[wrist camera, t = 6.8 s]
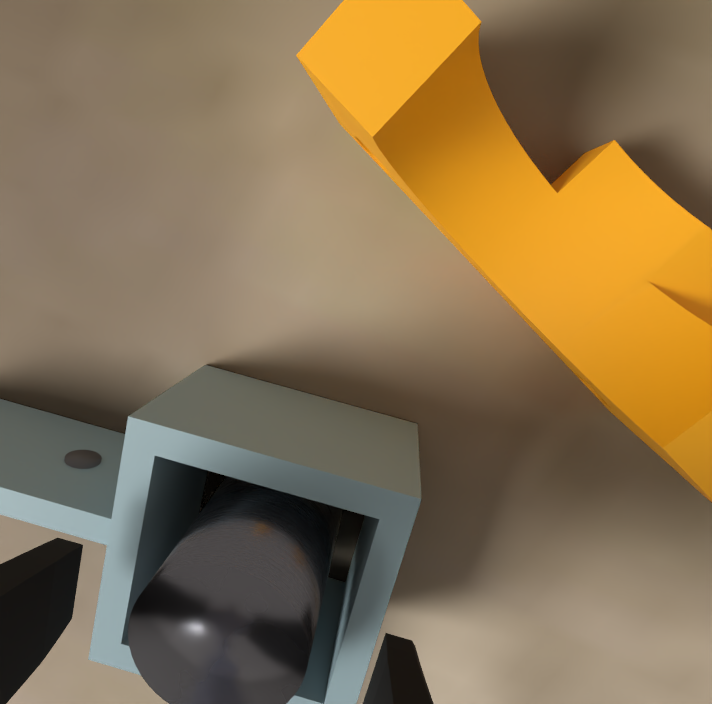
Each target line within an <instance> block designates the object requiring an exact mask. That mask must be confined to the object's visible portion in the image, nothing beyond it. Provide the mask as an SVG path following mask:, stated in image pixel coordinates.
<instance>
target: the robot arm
mask: <svg viewBox="0 0 712 704" xmlns="http://www.w3.org/2000/svg"><path fill="white" fill-rule="evenodd" d="M82 548H83V545H81V544H78V543H74V542H71V541H67V540H64V539H60V538H56V539H54V540H52V541H49V542H47V543H45V544H43V545H41V546H38V547H36V548H34V549H32V550H30V551H28V552H26V553H23V554H21V555H19V556H17V557H15V558H13V559H11V560H9V561H6V562H4V563H2V564H0V704H6V703H7V702H8V701H9V700H10V699H11V697H12V696H13V695H14V694H15V693H16V692H17V690H18V689H19V688H20V687H21V686H22V685H23V683H24V682H25V681H26V680H27V679H28V678H29V676H30V675H31V674H32V673H33V672H34V671H35V669H36V668H37V667H38V666H39V665H40V663H41V662H42V661H43V660H44V658H45V657H46V655H47V654H48V653H49V651H50V650H51V648H52V647H53V646H54V644H55V643H56V641H57V640H58V638H59V637H60V635H61V634H62V632H63V631H64V629H65V628H66V626H67V625H68V624H69V622H70V621H71V619H72V614H73V608H74V601H75V594H76V588H77V581H78V574H79V568H80V561H81V555H82ZM363 704H433V701H432V698H431V695H430V692H429V689H428V686H427V684H426V681H425V678H424V674H423V671H422V668H421V665H420V662H419V658H418V655H417V651H416V648H415V645H414V643H413V642H412V641H411V640H408V639H404V638H401V637H397V636H394V635H391V634H387V633H386V634H385V637H384V640H383V643H382V646H381V650H380V653H379V656H378V659H377V662H376V665H375V668H374V671H373V674H372V677H371V680H370V684H369V687H368V690H367V693H366V696H365V699H364V702H363Z"/></svg>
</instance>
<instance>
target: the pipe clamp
mask: <svg viewBox="0 0 712 704" xmlns="http://www.w3.org/2000/svg"><path fill="white" fill-rule="evenodd" d="M480 25H481V21H480V20H479V18H478V17H477V16H476V15H475V14H474V13H473V12H472V11H471V9H470V8H469V7H468V6H467V5H466V4H465V3H464V2H463V0H344V1H343V2H342V3H341V4H340V5H339V6H338V8H337V9H336V10H335V11H334V12H333V13H332V15H331V16H330V17H329V18H328V19H327V20H326V22H325V23H324V24H323V25H322V26H321V27H320V29H319V30H318V31H317V32H316V33H315V34H314V35H313V37H312V38H311V39H310V40H309V41H308V42H307V44H306V45H305V46H304V47H303V48H302V49H301V51H300V52H299V53H298V54H297V55H296V56H297V57H298V59H299V61H300V62H301V64H302V65H303V67H304V68H305V70H306V72H307V73H308V75H309V76H310V78H311V79H312V81H313V83H314V84H315V86H316V87H317V89H318V90H319V92H320V94H321V95H322V97H323V98H324V100H325V101H326V103H327V104H328V106H329V108H330V109H331V111H332V112H333V114H334V115H335V117H336V119H337V120H338V122H339V123H340V124H341V126H342V127H343V128H344V129H345V130H346V131H347V132H348V133H349V134H350V135H351V136H352V137H353V138H354V139H355V140H356V142H357V143H358V144H359V145H360V146H361V147H362V148H363V149H364V150H365V151H366V152H367V153H368V154H369V155H370V156H371V158H372V159H373V160H374V161H375V162H376V163H377V164H378V165H379V166H380V167H381V168H382V169H383V170H384V171H385V172H386V173H387V175H388V176H389V177H390V178H391V179H392V180H393V181H394V182H395V183H396V184H397V185H398V186H399V187H400V188H401V189H402V191H403V192H404V193H405V194H406V195H407V196H408V197H409V198H410V199H411V200H412V201H413V202H414V203H415V204H416V205H417V207H418V208H419V209H420V210H421V211H422V212H423V213H424V214H425V215H426V216H427V217H428V218H429V219H430V220H431V221H432V222H433V224H434V225H435V226H436V227H437V228H438V229H439V230H440V231H441V232H442V233H443V234H444V235H445V236H446V237H447V238H448V240H449V241H450V242H451V243H452V244H453V245H454V246H455V247H456V248H457V249H458V250H459V251H460V252H461V253H462V254H463V256H464V257H465V258H466V259H467V260H468V261H469V262H470V263H471V264H472V265H473V266H474V267H475V268H476V269H477V270H478V271H479V273H480V274H481V275H482V276H483V277H484V278H485V279H486V280H487V281H488V282H489V283H490V284H491V285H492V286H493V287H494V289H495V290H496V291H497V292H498V293H499V294H500V295H501V296H502V297H503V298H504V299H505V300H506V301H507V302H508V303H509V305H510V306H511V307H512V308H513V309H514V310H515V311H516V312H517V313H518V314H519V315H520V316H521V317H522V318H523V319H524V320H525V322H526V323H527V324H528V325H529V326H530V327H531V328H532V329H533V330H534V331H535V332H536V333H537V334H538V335H539V336H540V338H541V339H542V340H543V341H544V342H545V343H546V344H547V345H548V346H549V347H550V348H551V349H552V350H553V351H554V352H555V354H556V355H557V356H558V357H559V358H560V359H561V360H562V361H563V362H564V363H565V364H566V365H567V366H568V367H569V368H570V369H571V371H572V372H573V373H574V374H575V375H576V376H577V377H578V378H579V379H580V380H581V381H582V382H583V383H584V384H585V385H586V387H587V388H588V389H589V390H590V391H591V392H592V393H593V394H594V395H595V396H596V397H597V398H598V399H599V400H600V401H601V403H602V404H603V405H604V406H605V407H606V408H607V409H608V410H609V411H610V412H611V413H612V414H613V415H614V416H616V417H617V418H618V419H619V420H620V421H621V422H622V423H623V424H624V425H626V426H627V427H628V428H629V429H630V430H631V431H632V432H633V433H635V434H636V435H637V436H638V437H639V438H640V439H641V440H642V441H643V442H645V443H646V444H647V445H648V446H649V447H650V448H651V449H652V450H653V451H655V452H656V453H657V454H658V455H659V456H660V457H661V458H662V459H663V460H665V461H666V462H667V463H668V464H669V465H670V466H671V467H672V468H674V469H675V470H676V471H677V472H678V473H679V474H680V475H681V476H682V477H684V478H685V479H686V480H687V481H688V482H689V483H690V484H691V485H692V486H694V487H695V488H696V489H697V490H698V491H699V492H700V493H701V494H703V495H704V496H705V497H706V498H707V499H708V500H709V501H710V502H711V503H712V230H711V229H710V228H709V227H708V226H706V225H705V224H703V223H702V222H701V221H699V220H698V219H697V218H695V217H694V216H693V215H691V214H690V213H689V212H687V211H686V210H685V209H684V208H682V207H681V206H680V205H679V204H678V203H676V202H675V201H674V200H673V199H672V198H670V197H669V196H668V195H667V194H666V193H665V192H664V191H663V190H661V189H660V188H659V187H658V186H657V185H656V184H655V183H654V182H653V181H652V180H651V179H650V178H649V177H648V176H647V175H646V174H645V173H644V172H643V171H642V170H641V169H640V168H639V167H638V166H637V165H636V164H635V163H634V162H633V161H632V160H631V158H630V157H629V156H628V155H627V154H626V153H625V152H624V150H623V149H622V148H621V147H620V146H619V145H618V143H617V142H616V141H615V140H613V141H611V142H609V143H607V144H604V145H602V146H600V147H597V148H595V149H593V150H590V151H588V152H586V153H584V154H583V155H582V156H581V157H580V158H579V159H578V160H577V161H576V162H575V163H573V164H572V165H571V166H570V167H569V168H568V169H567V170H566V171H565V172H564V173H563V174H562V175H561V176H560V177H559V178H558V179H556V180H555V181H554V182H553V183H552V184H551V185H550V184H549V182H548V181H547V180H546V179H545V178H544V176H543V175H542V174H541V172H540V171H539V170H538V168H537V167H536V166H535V164H534V163H533V162H532V160H531V159H530V158H529V156H528V155H527V153H526V152H525V151H524V149H523V148H522V146H521V145H520V143H519V142H518V140H517V139H516V137H515V136H514V134H513V132H512V131H511V129H510V127H509V126H508V124H507V122H506V121H505V119H504V117H503V115H502V113H501V111H500V109H499V108H498V106H497V103H496V101H495V99H494V97H493V95H492V93H491V90H490V88H489V85H488V83H487V80H486V77H485V74H484V71H483V68H482V63H481V59H480V53H479V44H478V42H479V29H480Z"/></svg>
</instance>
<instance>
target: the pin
mask: <svg viewBox="0 0 712 704" xmlns="http://www.w3.org/2000/svg"><path fill="white" fill-rule="evenodd" d="M342 513H343V509H341V508H338V507H334V506H331V505H327V504H324V503H320V502H317V501H313V500H310V499H306V498H303V497H299V496H296V495H292V494H289V493H285V492H282V491H278V490H275V489H271V488H268V487H264V486H260V485H257V484H253V483H250V482H246V481H243V480H239V479H236V478H232V477H229V476H227V477H226V478H225V479H224V481H223V482H222V483H221V485H220V486H219V488H218V489H217V490H216V492H215V493H214V494H213V496H212V497H211V498H210V500H209V501H208V503H207V504H206V505H205V507H204V508H203V509H202V511H201V512H200V514H199V515H198V516H197V518H196V519H195V520H194V522H193V523H192V524H191V526H190V527H189V529H188V530H187V531H186V533H185V534H184V535H183V537H182V538H181V540H180V541H179V542H178V544H177V545H176V546H175V548H174V549H173V550H172V552H171V553H170V555H169V556H168V557H167V559H166V560H165V561H164V563H163V564H162V566H161V567H160V568H159V570H158V571H157V572H156V574H155V575H154V576H153V578H152V579H151V581H150V582H149V583H148V585H147V586H146V587H145V589H144V590H143V592H142V593H141V594H140V596H139V597H138V599H137V600H136V602H135V604H134V606H133V609H132V612H131V614H130V618H129V624H128V641H129V648H130V651H131V655H132V658H133V660H134V663H135V665H136V667H137V669H138V671H139V672H140V674H141V676H142V677H143V679H144V680H145V681H146V683H147V684H148V685H149V686H150V687H151V688H152V689H153V691H154V692H155V693H156V694H158V695H159V696H160V697H161V698H162V699H163V700H165V701H166V702H168V703H169V704H286V703H288V702H289V701H290V699H291V698H292V697H293V696H294V695H295V694H296V692H297V691H298V689H299V688H300V686H301V684H302V682H303V680H304V677H305V674H306V670H307V666H308V662H309V658H310V653H311V649H312V644H313V640H314V636H315V631H316V627H317V622H318V618H319V614H320V609H321V605H322V600H323V596H324V592H325V587H326V583H327V579H328V574H329V570H330V565H331V561H332V557H333V552H334V548H335V543H336V539H337V535H338V530H339V526H340V521H341V517H342Z"/></svg>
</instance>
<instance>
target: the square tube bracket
mask: <svg viewBox="0 0 712 704" xmlns="http://www.w3.org/2000/svg"><path fill="white" fill-rule="evenodd" d="M208 471H211V472H215V473H218V474H222V475H225V476H229V477H232V478H236V479H239V480H243V481H246V482H250V483H253V484H257V485H260V486H264V487H268V488H271V489H275V490H278V491H282V492H285V493H289V494H292V495H296V496H299V497H303V498H306V499H310V500H313V501H317V502H320V503H324V504H327V505H331V506H334V507H338V508H341V509H345V510H348V511H352V512H356V513H359V514H363V515H365V517H364V520H363V523H362V527H361V530H360V534H359V537H358V540H357V544H356V547H355V551H354V554H353V558H352V561H351V564H350V568H349V571H348V575H347V578H346V581H345V582H343V581H339V580H336V579H333V578H329V577H328V579H327V583H326V587H325V592H324V596H323V600H322V605H321V609H320V614H319V618H318V622H317V627H316V631H315V636H314V640H313V644H312V649H311V653H310V658H309V662H308V666H307V670H306V674H305V677H304V680H303V682H302V684H301V686H300V688H299V689H298V691H297V692H296V694H295V695H294V696H293V697H292V698H291V699H290V701H289V702H288V703H286V704H356V703H357V700H358V697H359V694H360V690H361V687H362V684H363V681H364V678H365V675H366V672H367V668H368V665H369V662H370V659H371V656H372V653H373V650H374V647H375V643H376V640H377V637H378V634H379V631H380V628H381V625H382V622H383V618H384V615H385V612H386V609H387V606H388V603H389V600H390V596H391V593H392V590H393V587H394V584H395V581H396V578H397V575H398V571H399V568H400V565H401V562H402V559H403V556H404V553H405V549H406V546H407V543H408V540H409V537H410V534H411V531H412V528H413V524H414V521H415V518H416V515H417V512H418V509H419V506H420V503H421V499H422V497H421V479H420V461H419V442H418V424H417V423H413V422H409V421H406V420H402V419H399V418H395V417H391V416H388V415H384V414H381V413H377V412H373V411H370V410H366V409H363V408H359V407H355V406H352V405H348V404H345V403H341V402H337V401H334V400H330V399H327V398H323V397H319V396H316V395H312V394H309V393H305V392H301V391H298V390H294V389H291V388H287V387H283V386H280V385H276V384H273V383H269V382H265V381H262V380H258V379H255V378H251V377H247V376H244V375H240V374H237V373H233V372H229V371H226V370H222V369H219V368H215V367H211V366H208V365H204V366H203V367H201V368H200V369H198V370H197V371H195V372H194V373H192V374H191V375H189V376H188V377H186V378H185V379H183V380H182V381H180V382H179V383H177V384H176V385H174V386H173V387H171V388H170V389H168V390H167V391H165V392H164V393H162V394H161V395H159V396H158V397H156V398H155V399H153V400H152V401H150V402H149V403H147V404H146V405H144V406H143V407H141V408H140V409H138V410H137V411H135V412H134V413H132V414H131V415H129V416H128V420H127V426H126V432H125V434H123V433H119V432H116V431H112V430H109V429H105V428H102V427H98V426H94V425H91V424H87V423H84V422H80V421H77V420H73V419H70V418H66V417H63V416H59V415H56V414H52V413H49V412H45V411H42V410H38V409H34V408H31V407H27V406H24V405H20V404H17V403H13V402H10V401H6V400H3V399H0V514H1V515H5V516H8V517H11V518H15V519H18V520H22V521H25V522H29V523H32V524H36V525H39V526H42V527H46V528H49V529H53V530H56V531H60V532H63V533H66V534H70V535H73V536H77V537H80V538H84V539H87V540H91V541H94V542H97V543H101V544H104V545H107V549H106V555H105V561H104V567H103V573H102V580H101V586H100V592H99V598H98V604H97V610H96V616H95V622H94V629H93V635H92V641H91V647H90V653H89V659H88V660H92V661H95V662H98V663H102V664H105V665H109V666H112V667H115V668H119V669H122V670H125V671H129V672H132V673H135V674H139V675H141V674H140V672H139V671H138V669H137V667H136V665H135V663H134V660H133V658H132V655H131V651H130V648H129V641H128V624H129V618H130V614H131V612H132V609H133V606H134V604H135V602H136V600H137V599H138V597H139V596H140V594H141V593H142V592H143V590H144V589H145V587H146V586H147V585H148V583H149V582H150V581H151V579H152V578H153V576H154V575H155V574H156V572H157V571H158V570H159V568H160V567H161V566H162V564H163V563H164V561H165V560H166V559H167V557H168V556H169V555H170V553H171V552H172V550H173V549H174V548H175V546H176V545H177V544H178V542H179V541H180V540H181V538H182V537H183V535H184V534H185V533H186V531H187V530H188V529H189V527H190V526H191V524H192V523H193V522H194V520H195V519H196V518H197V516H198V515H199V511H200V506H201V501H202V496H203V492H204V487H205V482H206V477H207V472H208Z"/></svg>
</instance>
